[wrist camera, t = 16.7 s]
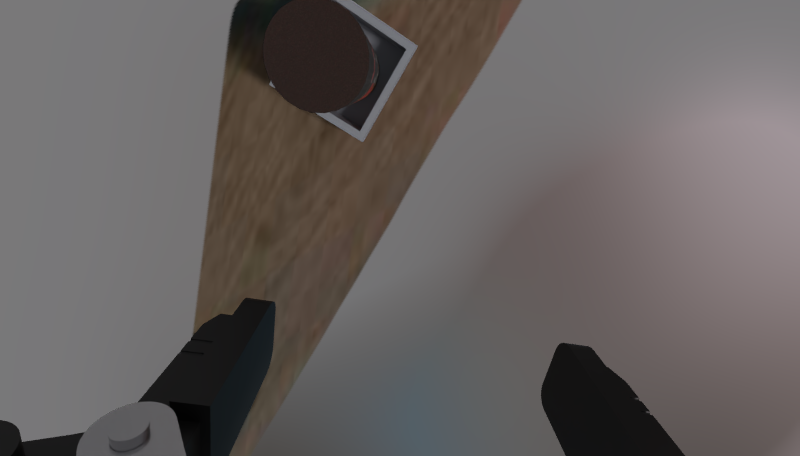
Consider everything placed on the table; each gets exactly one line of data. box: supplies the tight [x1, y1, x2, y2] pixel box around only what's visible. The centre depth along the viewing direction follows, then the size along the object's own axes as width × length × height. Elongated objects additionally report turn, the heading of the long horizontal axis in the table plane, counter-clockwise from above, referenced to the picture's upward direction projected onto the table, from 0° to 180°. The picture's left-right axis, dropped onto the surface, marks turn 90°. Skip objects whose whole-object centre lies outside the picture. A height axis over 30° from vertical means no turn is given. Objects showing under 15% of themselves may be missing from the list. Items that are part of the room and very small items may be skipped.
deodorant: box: [263, 0, 380, 113], centre depth 28 cm, size 6×6×15 cm
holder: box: [269, 0, 418, 142], centre depth 34 cm, size 9×9×4 cm
